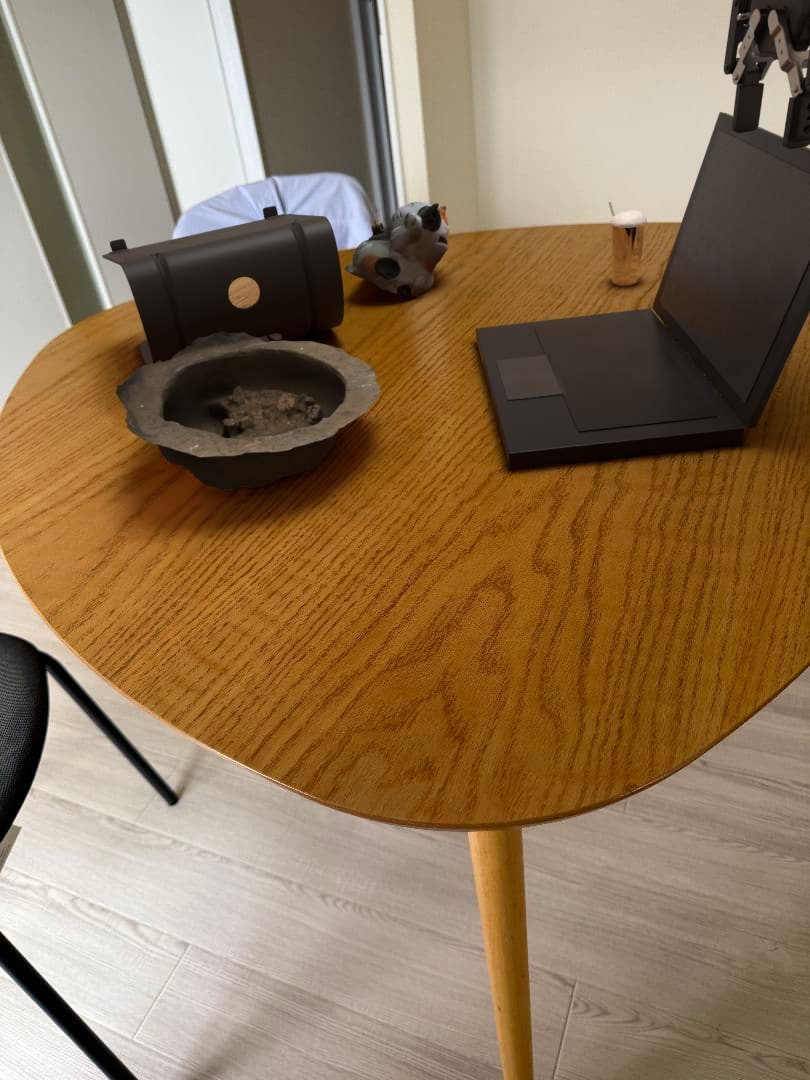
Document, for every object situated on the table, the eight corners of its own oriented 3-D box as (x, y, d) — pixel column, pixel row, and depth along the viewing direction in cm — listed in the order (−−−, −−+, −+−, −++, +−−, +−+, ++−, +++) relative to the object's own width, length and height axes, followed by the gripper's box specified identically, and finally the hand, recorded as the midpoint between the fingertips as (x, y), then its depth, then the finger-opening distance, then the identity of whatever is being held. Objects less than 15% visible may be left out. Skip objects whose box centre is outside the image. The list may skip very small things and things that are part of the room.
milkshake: (615, 273, 109) (619, 197, 103) (649, 279, 106) (655, 201, 100) (596, 283, 107) (598, 206, 101) (629, 290, 104) (634, 211, 98)
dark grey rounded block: (158, 405, 91) (114, 271, 81) (130, 341, 108) (91, 225, 99) (361, 349, 97) (342, 220, 88) (303, 297, 115) (282, 185, 106)
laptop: (509, 470, 71) (508, 452, 70) (476, 342, 95) (475, 327, 94) (742, 445, 70) (745, 426, 69) (649, 322, 94) (650, 307, 93)
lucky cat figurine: (370, 270, 122) (403, 179, 115) (437, 304, 120) (474, 214, 114) (329, 274, 108) (365, 172, 102) (404, 312, 107) (445, 210, 100)
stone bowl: (112, 441, 84) (88, 358, 79) (324, 388, 93) (315, 310, 88) (174, 550, 65) (148, 451, 60) (430, 469, 75) (427, 378, 70)
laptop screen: (862, 173, 57) (874, 175, 57) (718, 111, 81) (726, 113, 81) (745, 427, 69) (755, 428, 69) (650, 308, 93) (657, 309, 93)
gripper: (917, -119, 52) (861, 146, 62) (799, -101, 64) (767, 120, 73) (810, -103, 52) (770, 161, 62) (710, -88, 63) (690, 132, 73)
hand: (769, 138), depth 68 cm, fingers open, 8 cm apart
